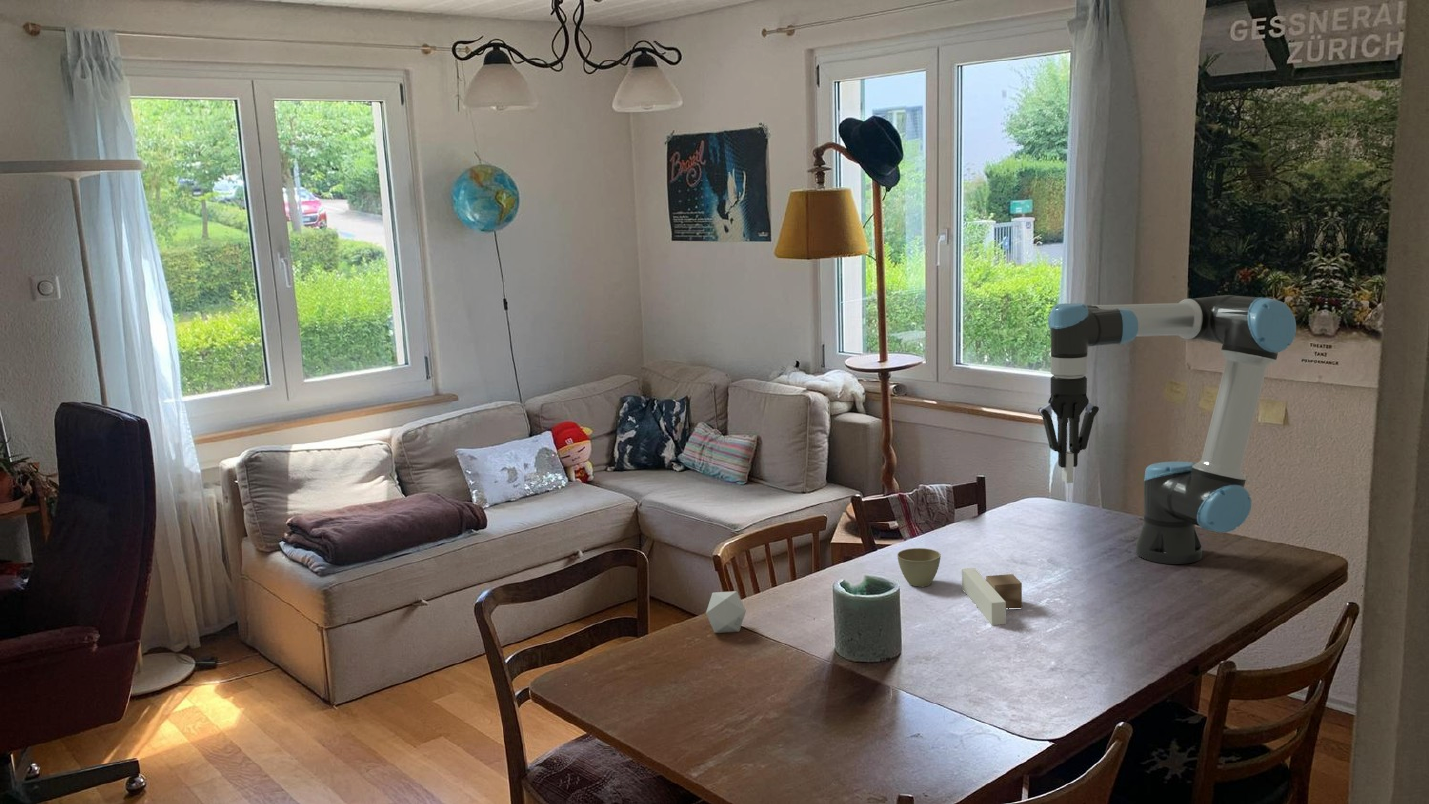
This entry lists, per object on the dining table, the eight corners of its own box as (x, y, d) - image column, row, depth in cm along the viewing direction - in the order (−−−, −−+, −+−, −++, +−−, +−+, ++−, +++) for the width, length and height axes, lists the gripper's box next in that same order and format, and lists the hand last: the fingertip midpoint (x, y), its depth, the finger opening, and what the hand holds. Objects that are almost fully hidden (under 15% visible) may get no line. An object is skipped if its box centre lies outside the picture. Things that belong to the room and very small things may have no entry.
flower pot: (938, 575, 264) (938, 547, 262) (943, 590, 254) (942, 561, 253) (896, 576, 265) (896, 547, 263) (899, 591, 255) (898, 561, 254)
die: (733, 643, 231) (755, 601, 233) (695, 622, 232) (718, 580, 233) (732, 642, 239) (754, 601, 241) (696, 622, 240) (718, 581, 242)
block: (1012, 599, 246) (1012, 574, 245) (1021, 609, 241) (1021, 583, 239) (986, 601, 246) (986, 575, 245) (994, 611, 240) (994, 585, 239)
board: (975, 588, 254) (975, 567, 253) (1006, 624, 232) (1006, 601, 232) (962, 589, 254) (961, 568, 253) (991, 625, 232) (991, 602, 231)
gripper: (1091, 371, 242) (1089, 475, 246) (1033, 374, 242) (1032, 479, 246) (1105, 376, 235) (1103, 483, 239) (1045, 379, 234) (1044, 487, 238)
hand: (1067, 481), depth 242 cm, fingers closed
